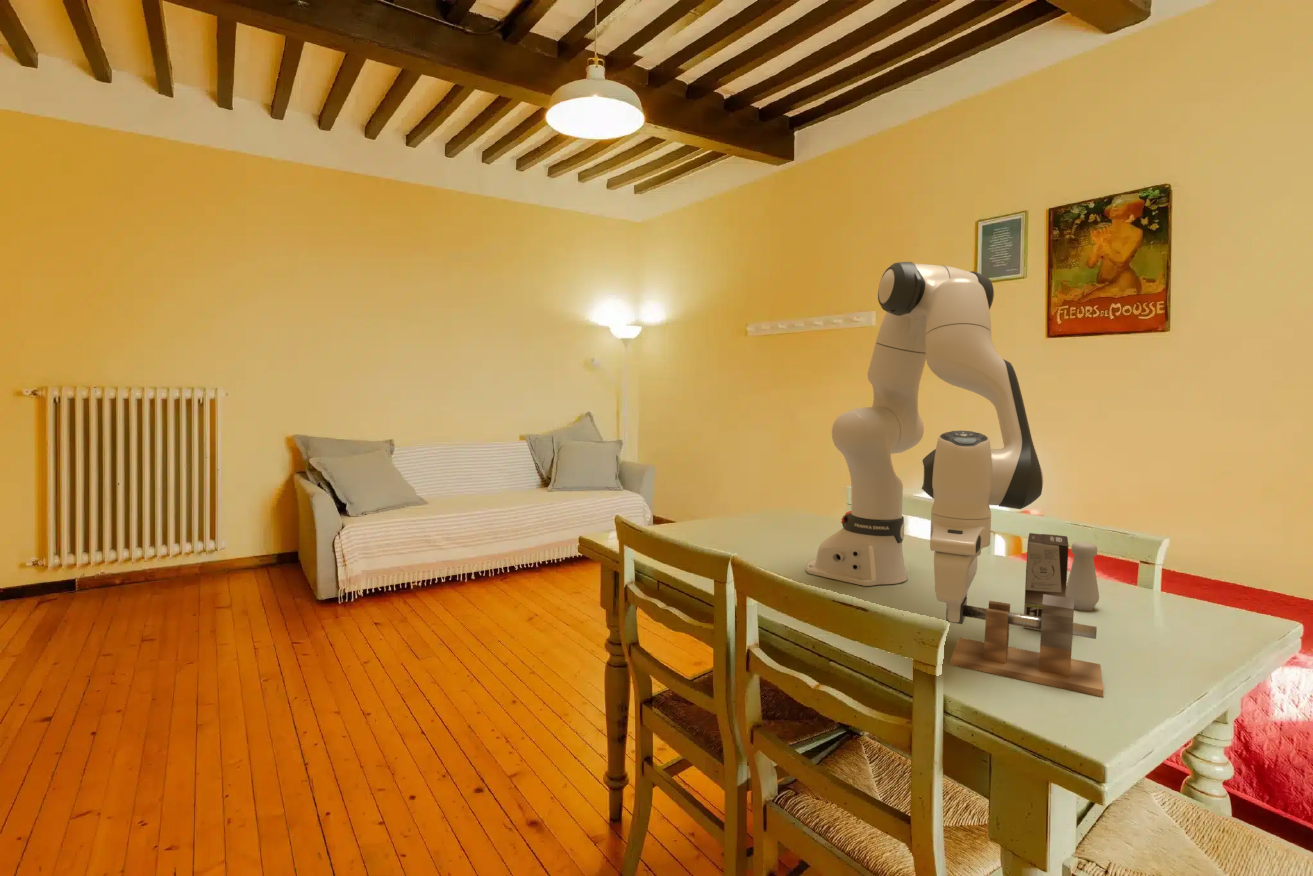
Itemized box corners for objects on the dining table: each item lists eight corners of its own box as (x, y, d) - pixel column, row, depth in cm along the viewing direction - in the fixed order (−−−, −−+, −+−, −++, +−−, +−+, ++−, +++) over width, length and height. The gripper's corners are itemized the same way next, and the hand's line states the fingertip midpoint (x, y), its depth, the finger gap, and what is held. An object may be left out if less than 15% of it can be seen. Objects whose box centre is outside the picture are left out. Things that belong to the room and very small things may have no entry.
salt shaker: (1104, 613, 126) (1108, 547, 124) (1071, 611, 127) (1074, 546, 126) (1090, 603, 131) (1094, 540, 130) (1059, 601, 132) (1062, 538, 131)
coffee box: (1064, 635, 115) (1069, 546, 113) (1022, 628, 118) (1026, 541, 117) (1064, 619, 123) (1068, 535, 121) (1024, 613, 126) (1029, 531, 125)
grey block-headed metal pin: (946, 621, 105) (946, 603, 105) (950, 612, 110) (951, 594, 109) (1096, 648, 95) (1097, 628, 94) (1094, 637, 99) (1096, 617, 99)
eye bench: (950, 664, 103) (953, 594, 102) (959, 643, 112) (961, 578, 111) (1103, 696, 93) (1107, 619, 92) (1100, 670, 101) (1104, 599, 100)
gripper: (948, 518, 116) (945, 593, 117) (928, 542, 99) (925, 630, 100) (988, 522, 113) (984, 599, 114) (974, 547, 95) (970, 639, 97)
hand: (956, 614), depth 107 cm, fingers closed on grey block-headed metal pin, 5 cm apart
